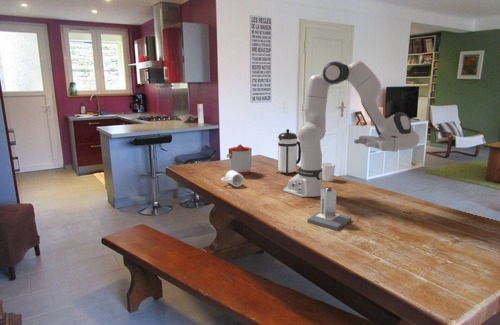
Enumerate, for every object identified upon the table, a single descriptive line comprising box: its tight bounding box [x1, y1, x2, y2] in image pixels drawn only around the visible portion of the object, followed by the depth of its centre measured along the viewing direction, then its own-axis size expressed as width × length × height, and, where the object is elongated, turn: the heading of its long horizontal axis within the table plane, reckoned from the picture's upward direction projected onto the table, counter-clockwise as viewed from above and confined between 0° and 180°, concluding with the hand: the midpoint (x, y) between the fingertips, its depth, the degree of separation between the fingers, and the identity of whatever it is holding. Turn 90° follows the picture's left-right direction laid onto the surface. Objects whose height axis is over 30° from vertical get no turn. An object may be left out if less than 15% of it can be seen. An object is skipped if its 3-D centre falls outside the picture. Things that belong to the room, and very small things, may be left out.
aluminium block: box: [319, 186, 337, 218], centre depth 154 cm, size 5×5×13 cm
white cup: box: [322, 162, 336, 182], centre depth 216 cm, size 8×8×10 cm
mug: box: [221, 169, 245, 188], centre depth 207 cm, size 12×10×8 cm
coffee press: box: [276, 128, 301, 177], centre depth 233 cm, size 17×16×30 cm
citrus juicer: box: [226, 143, 253, 176], centre depth 233 cm, size 16×17×20 cm
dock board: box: [307, 211, 352, 231], centre depth 152 cm, size 14×14×2 cm
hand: (360, 143), depth 161 cm, fingers open, 8 cm apart
